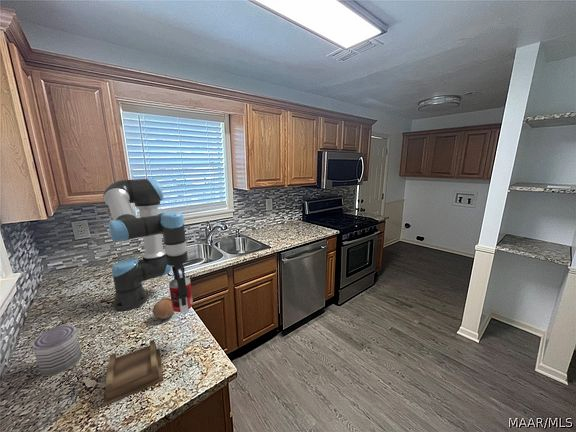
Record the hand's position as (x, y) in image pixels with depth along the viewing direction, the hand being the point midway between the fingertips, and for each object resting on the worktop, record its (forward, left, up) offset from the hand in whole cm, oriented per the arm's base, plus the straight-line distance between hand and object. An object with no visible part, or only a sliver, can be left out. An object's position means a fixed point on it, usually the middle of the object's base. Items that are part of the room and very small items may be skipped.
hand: (182, 305), depth 93 cm
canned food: (0, 0, -1) cm, 1 cm away
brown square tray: (+8, -18, -15) cm, 25 cm away
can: (-13, -41, -16) cm, 46 cm away
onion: (-22, -6, -16) cm, 27 cm away
